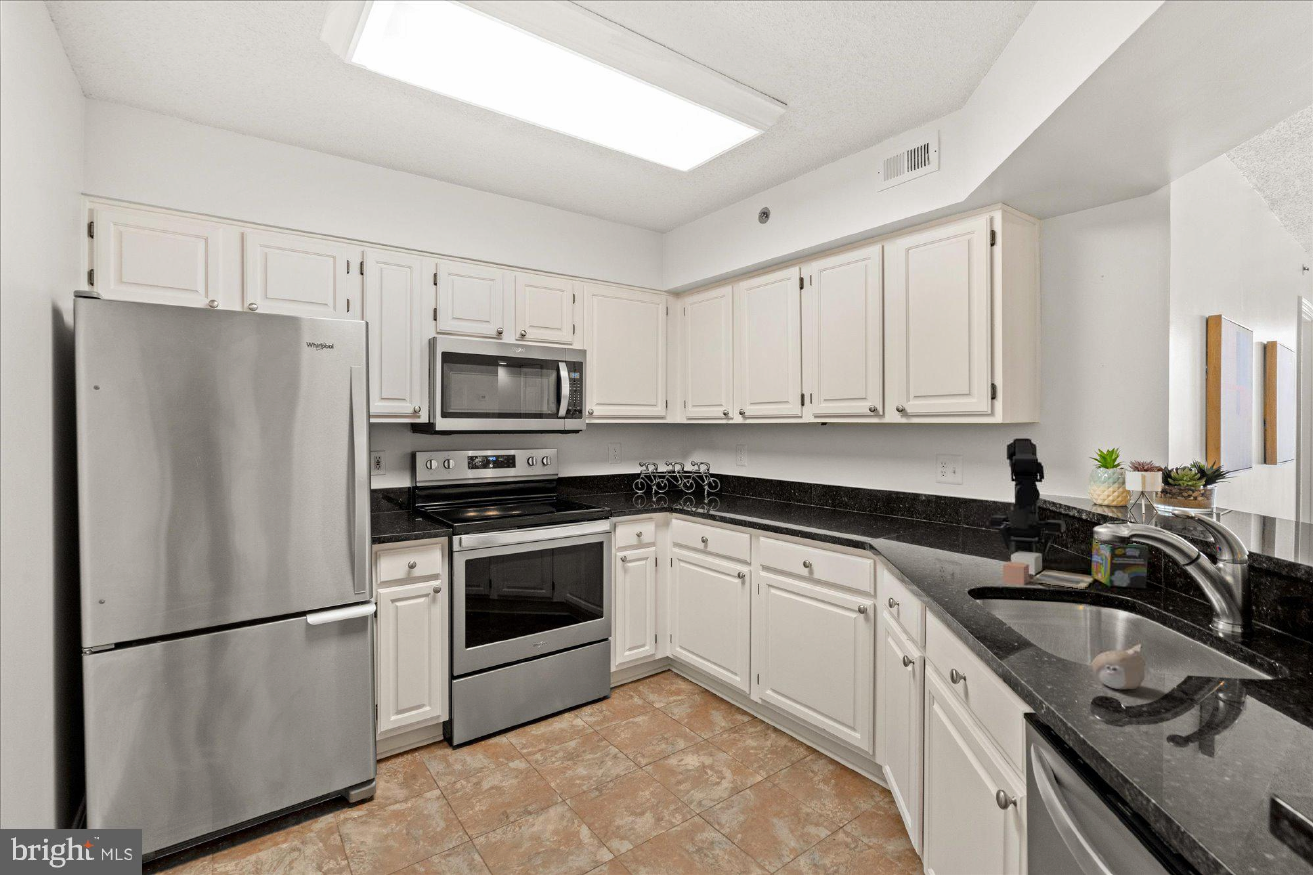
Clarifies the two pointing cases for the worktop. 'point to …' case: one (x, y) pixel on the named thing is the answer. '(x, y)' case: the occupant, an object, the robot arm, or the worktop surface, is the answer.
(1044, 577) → the board
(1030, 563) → the base brick
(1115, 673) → the beige toy figurine
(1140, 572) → the chalk box
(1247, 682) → the worktop surface
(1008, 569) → the pink cube
